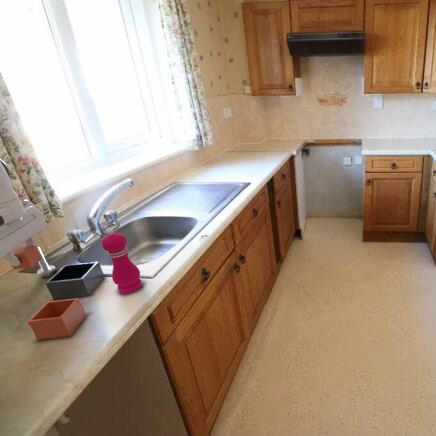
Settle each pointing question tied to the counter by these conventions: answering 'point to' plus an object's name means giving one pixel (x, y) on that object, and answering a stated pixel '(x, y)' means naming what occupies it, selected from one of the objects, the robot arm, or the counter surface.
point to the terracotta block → (27, 256)
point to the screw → (44, 266)
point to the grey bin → (75, 280)
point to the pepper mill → (121, 263)
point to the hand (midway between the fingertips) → (25, 258)
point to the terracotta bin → (57, 319)
